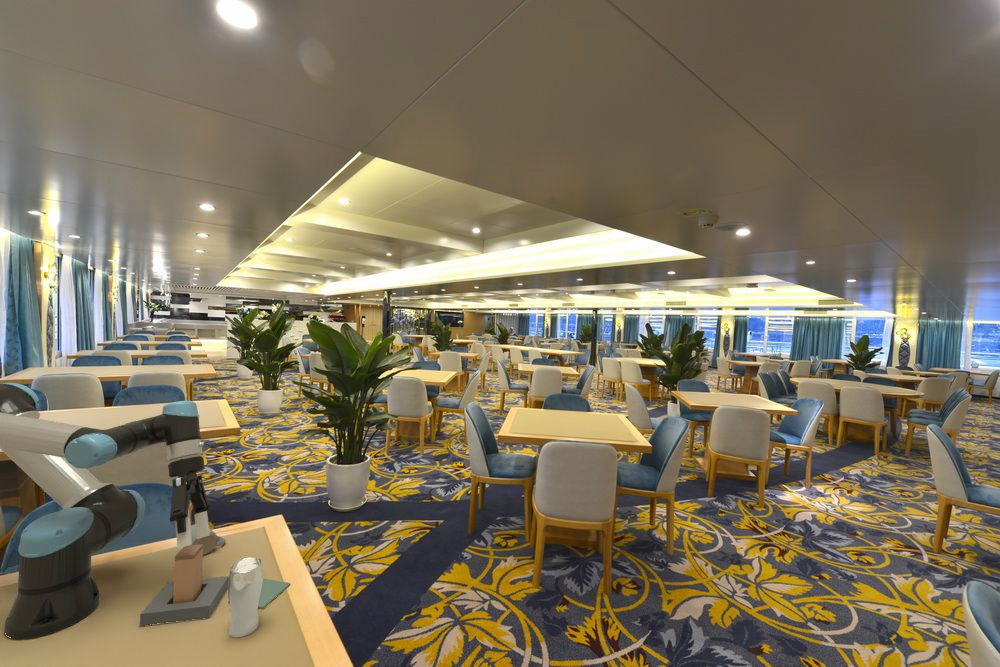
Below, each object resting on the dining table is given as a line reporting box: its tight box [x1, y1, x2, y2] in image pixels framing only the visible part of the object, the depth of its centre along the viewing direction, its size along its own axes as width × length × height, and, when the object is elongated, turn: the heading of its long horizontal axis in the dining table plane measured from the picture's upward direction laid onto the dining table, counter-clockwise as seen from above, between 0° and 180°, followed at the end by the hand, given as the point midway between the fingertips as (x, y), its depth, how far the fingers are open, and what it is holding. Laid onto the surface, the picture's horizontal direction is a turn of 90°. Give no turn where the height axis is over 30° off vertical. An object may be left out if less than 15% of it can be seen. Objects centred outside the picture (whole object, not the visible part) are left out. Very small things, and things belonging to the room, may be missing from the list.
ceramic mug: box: [190, 523, 226, 556], centre depth 127 cm, size 11×8×8 cm
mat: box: [228, 578, 291, 610], centre depth 107 cm, size 10×10×1 cm
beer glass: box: [227, 556, 264, 639], centre depth 95 cm, size 7×7×15 cm
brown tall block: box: [173, 544, 204, 604], centre depth 102 cm, size 4×5×14 cm
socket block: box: [139, 575, 229, 627], centre depth 102 cm, size 14×12×3 cm
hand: (194, 541), depth 105 cm, fingers open, 13 cm apart
